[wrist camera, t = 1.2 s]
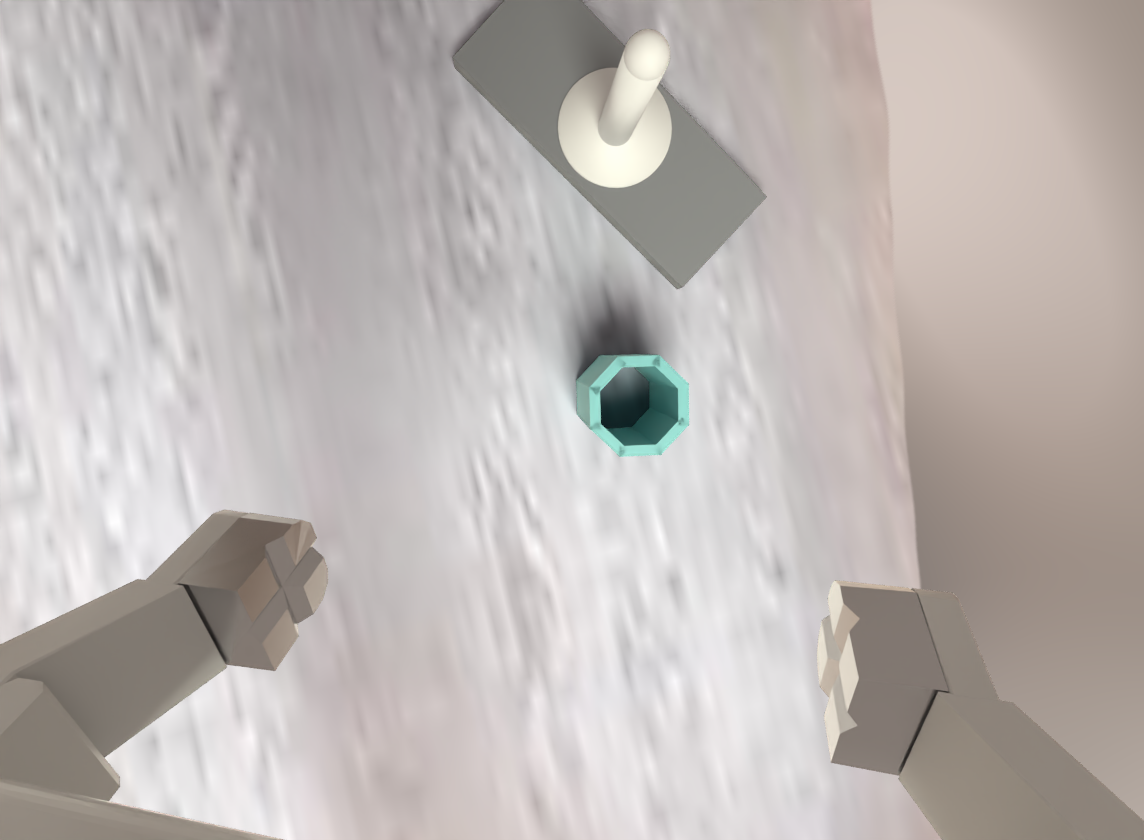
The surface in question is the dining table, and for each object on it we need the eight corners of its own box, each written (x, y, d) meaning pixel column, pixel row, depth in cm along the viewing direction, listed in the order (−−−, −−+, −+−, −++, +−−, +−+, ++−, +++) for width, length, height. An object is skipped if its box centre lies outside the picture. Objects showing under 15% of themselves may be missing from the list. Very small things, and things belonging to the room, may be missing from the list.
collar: (559, 398, 43) (568, 409, 35) (616, 337, 43) (638, 333, 35) (618, 453, 44) (640, 476, 36) (675, 393, 44) (709, 403, 36)
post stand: (454, 68, 40) (426, -59, 28) (540, -27, 40) (551, -197, 27) (677, 289, 43) (742, 264, 30) (758, 202, 43) (857, 140, 30)
